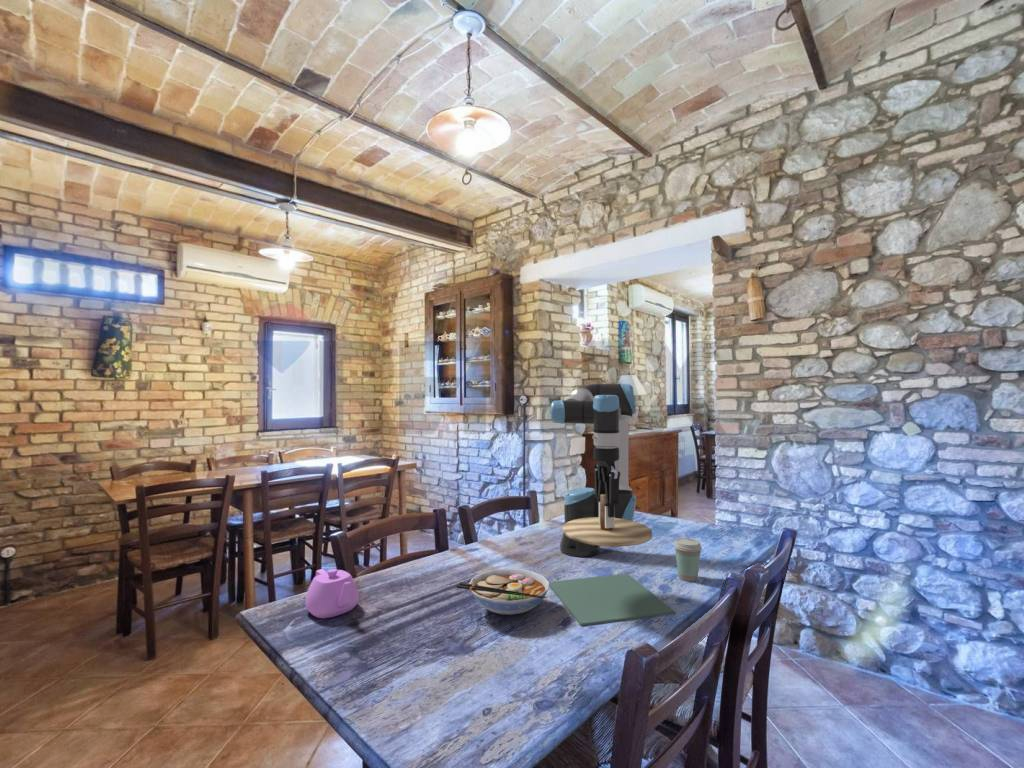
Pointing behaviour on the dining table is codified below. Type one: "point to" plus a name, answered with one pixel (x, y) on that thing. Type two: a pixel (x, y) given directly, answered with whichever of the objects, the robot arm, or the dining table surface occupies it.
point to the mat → (608, 599)
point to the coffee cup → (687, 558)
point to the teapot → (331, 593)
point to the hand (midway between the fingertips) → (606, 525)
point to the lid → (607, 530)
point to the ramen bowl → (508, 590)
